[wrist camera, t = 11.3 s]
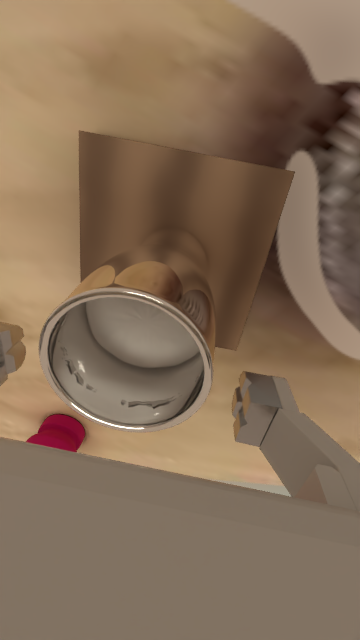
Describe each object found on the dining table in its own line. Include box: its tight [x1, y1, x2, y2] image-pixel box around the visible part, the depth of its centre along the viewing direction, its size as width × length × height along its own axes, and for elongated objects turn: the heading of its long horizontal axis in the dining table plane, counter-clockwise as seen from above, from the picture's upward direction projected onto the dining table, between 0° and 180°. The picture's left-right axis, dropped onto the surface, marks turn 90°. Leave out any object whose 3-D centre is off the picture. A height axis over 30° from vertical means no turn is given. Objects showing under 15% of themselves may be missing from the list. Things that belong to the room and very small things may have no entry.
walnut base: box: [79, 131, 295, 350], centre depth 24 cm, size 16×16×3 cm
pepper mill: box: [26, 414, 85, 453], centre depth 30 cm, size 7×7×20 cm
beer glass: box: [39, 228, 216, 432], centre depth 16 cm, size 7×7×15 cm
